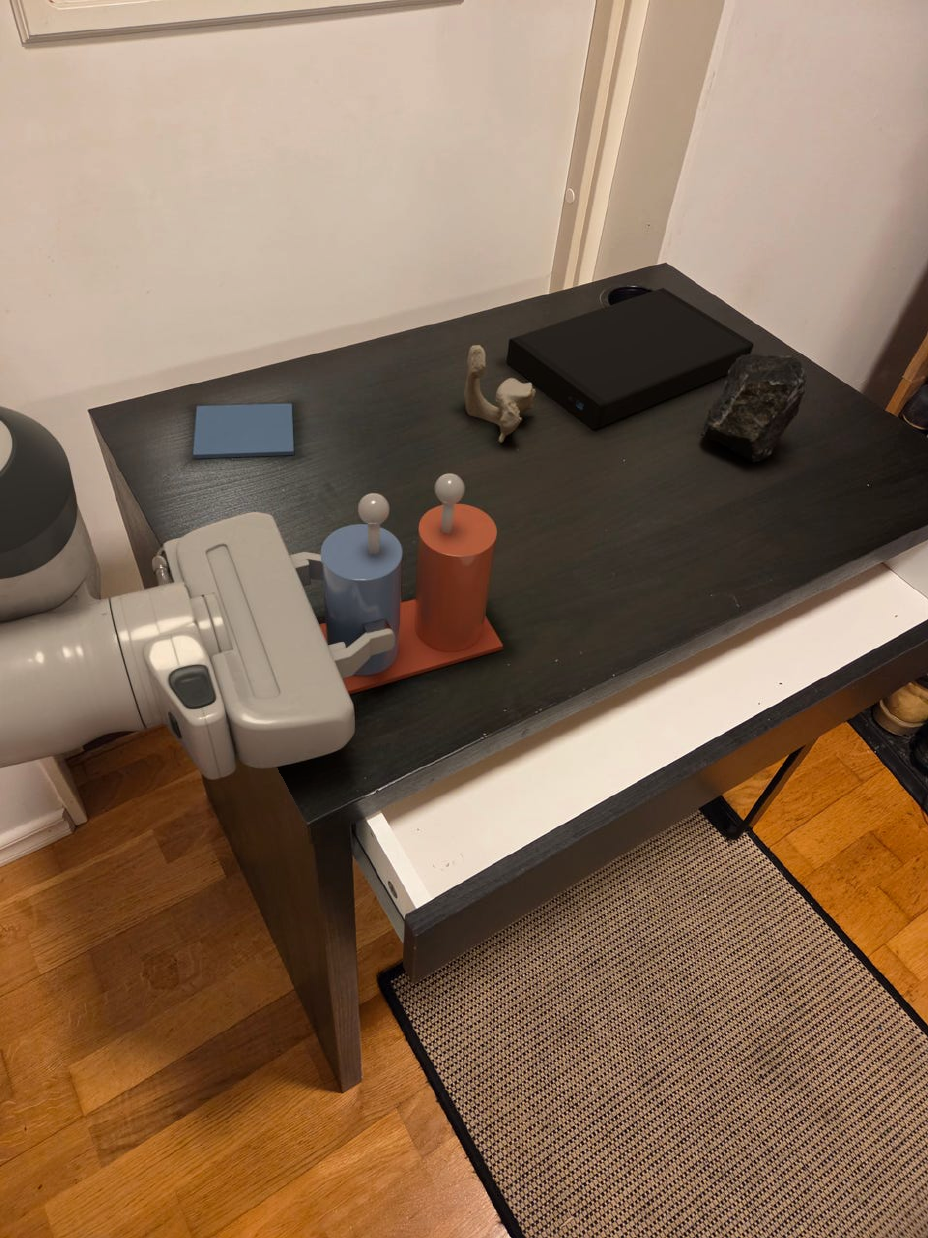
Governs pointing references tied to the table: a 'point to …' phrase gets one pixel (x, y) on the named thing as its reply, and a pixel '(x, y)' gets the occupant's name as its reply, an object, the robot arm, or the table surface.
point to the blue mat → (243, 431)
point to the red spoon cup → (453, 569)
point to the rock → (756, 404)
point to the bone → (509, 396)
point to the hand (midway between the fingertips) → (374, 599)
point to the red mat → (420, 654)
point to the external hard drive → (626, 356)
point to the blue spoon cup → (363, 581)
